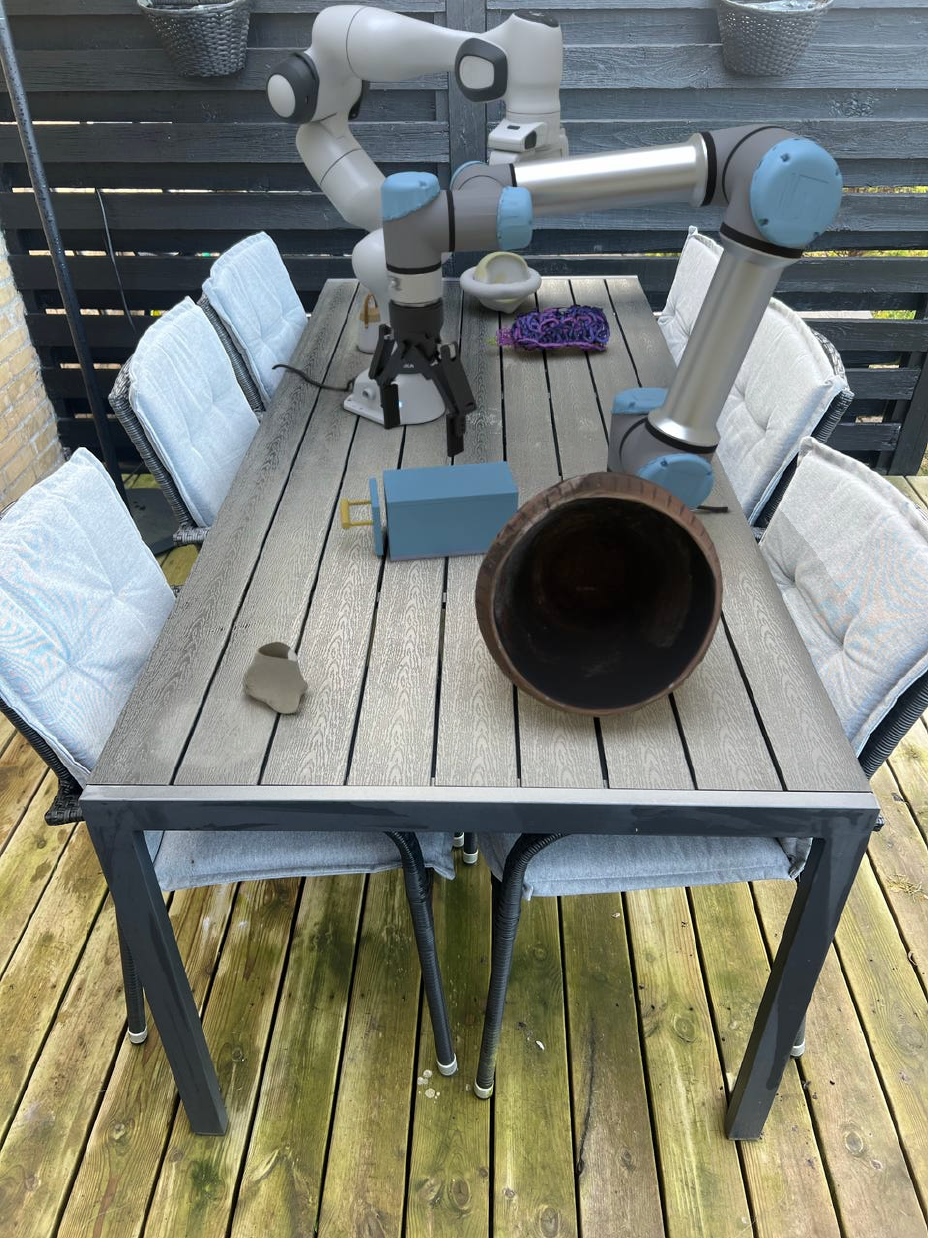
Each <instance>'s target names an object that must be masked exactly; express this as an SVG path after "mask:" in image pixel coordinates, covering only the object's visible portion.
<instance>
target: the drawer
mask: <svg viewBox="0 0 928 1238" xmlns="http://www.w3.org/2000/svg"><path fill="white" fill-rule="evenodd" d="M368 484H369V496H370V499H359V500H348V499H347V498H342V499H341V500H340V501H339V508H340V523H341V524H340V525H341V529H342V530H344V531H348V530H350V529H351V527H366V526H372V530H373V538H374V539H373V540H374V550H375V555H376V556H384V547H383V533H382V518H381V505H380V499H379V498H380V497H379V489H378V482H377V477H371V478H370V477H369V478H368ZM365 505H370V508H371V520H359V521H351V512H350V507H352V506H365ZM387 514H388V513H387Z"/></svg>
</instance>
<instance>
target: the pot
mask: <svg viewBox="0 0 928 1238" xmlns="http://www.w3.org/2000/svg"><path fill="white" fill-rule="evenodd" d="M723 583H724V582H723V571H722V567H721V562H720V559H719V556H718V553H717V549H716V546H715V543H714V541H713V539H712V538H711V536H710V534H709V533H708V531H707V529H706V527H705V526H704V525H703V523H702V522H701V520H700V519H699V518H698V516H697V515H696V514H695V513H694V512H693V510H690V509H689V508H688V507H687V506H686V505H685V504H684V503H683V502H682V501H681V500H680V499H679V498H678V497H676V496H675V495H674V494H672V493H671V492H669V491H668V490H666V489H665V488H663V487H661V486H659V485H657V484H655V483H654V482H651V481H649V480H646V479H644V478H641V477H639V476H636V475H633V474H627V473H621V472H606V471H603V470H601V471H594V472H589V473H584V474H579V475H575V476H573V477H568V478H566V479H563V480H561V481H559V482H556V484H553V485H552V486H549V487H548V488H546V489H544V490H542V491H540V492H538V493H537V494H536V495H534V496H533V497H531V498H530V499H528V500H527V501H526V502H525V503H523V505H521V506H520V507H518V511H517V512H516V513H515V514H514V515H513V516H512V517H511V519H510V520H509V521H508V522H507V523H506V524H505V525H504V526H503V527H502V529H501V530H500V532H499V533H498V534H497V535H496V536H495V538H494V540H493V541H492V543H491V545H490V547H489V549H488V551H487V553H485V554H484V557H483V559H482V562H481V564H480V567H479V569H478V574H477V578H476V582H475V588H474V606H475V616H476V617H475V618H476V621H477V625H478V629H479V631H480V634H481V637H482V639H483V641H484V644H485V646H486V648H487V650H488V653H489V654H490V656H491V658H492V661H494V663H495V665H497V667H498V669H499V670H500V672H501V673H502V675H503V676H505V677H506V678H507V679H508V680H509V681H510V682H511V683H512V684H513V685H515V686H516V687H517V689H519V690H520V691H522V692H523V693H524V694H526V695H527V696H528V697H530V698H532V699H533V700H535V701H536V702H538V703H540V704H542V705H545V706H546V707H548V708H551V709H553V710H555V711H559V712H561V713H566V714H567V713H568V714H571V715H577V716H582V717H589V718H606V717H615V716H616V717H617V716H621V715H623V714H628V713H630V712H635V711H639V710H642V709H644V708H646V707H648V706H650V705H652V704H654V703H657V702H658V701H660V700H662V699H664V698H666V697H667V696H668V695H669V694H671V693H673V692H674V691H676V690H677V689H679V687H681V686H682V685H683V684H684V683H685V681H686V680H688V679H689V678H690V677H691V675H692V674H693V672H694V671H695V669H697V667H698V666H699V665H700V664H702V662H703V661H704V659H705V657H706V655H707V653H708V651H709V649H710V647H711V645H712V643H713V640H714V636H715V634H716V631H717V628H718V626H719V623H720V619H721V615H722V610H723V601H724V600H723V599H724V598H723V597H724V584H723Z"/></svg>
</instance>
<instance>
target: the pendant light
mask: <svg viewBox="0 0 928 1238" xmlns="http://www.w3.org/2000/svg"><path fill="white" fill-rule="evenodd" d="M367 235H368V234H367V233H365V237H366V236H367ZM371 297H373V301H374V306H369V303H370V300H371ZM363 305H364V306H363V307H364V308H362V309H361V310H360V312H359V317H358V331H357V343H356V344H357V347H358V350H359V351H361V352H364V353H368V354H369V353H370V354H374V352H372V351H374V350H375V349H376V346H377V342H378V339H379V325H381V318H380V312H379V308H378V305H377V302H376V300H375V298H374V296H373V294H372V292H371V291H369V293H368V294H367V295H366V298H365V300H364V304H363Z"/></svg>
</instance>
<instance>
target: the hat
mask: <svg viewBox="0 0 928 1238" xmlns="http://www.w3.org/2000/svg"><path fill="white" fill-rule="evenodd" d="M539 273H540V272H538V271H537V270H535V269H533V268H532V267H529V266H528V264H527V262H526V260H525V259H524V258H523V257H522V256H520V255H519V254H517V253H514V252H509V251H493V252H491V253H488V254H486V256H484V257H483V258H482V259H481V260H480V261H478V264H477V265H476V266H472V267H470V268H468V269H466V270H465V271H464V272H463V273H462V274H461V275H460V277H459V287H461V289H462V290H463V292H465V293H466V294H468V295H469V296H472V297H476V298H477V299H478V300H479V302H480V303H481V304H482V305H483V306H484V307H486V308H488V309H490V310H492V311H497V312H503V313H505V314H512V313H514V311H516V309H517V308H518V307H519V306H520V305H522V303H524V302H525V301H526V300H527V299H528V297H529V296H531V295H533V294H535V293H536V292H538V291H539V290H540V288H541V286H542V282H543V280H542V276H541V274H539Z"/></svg>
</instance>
